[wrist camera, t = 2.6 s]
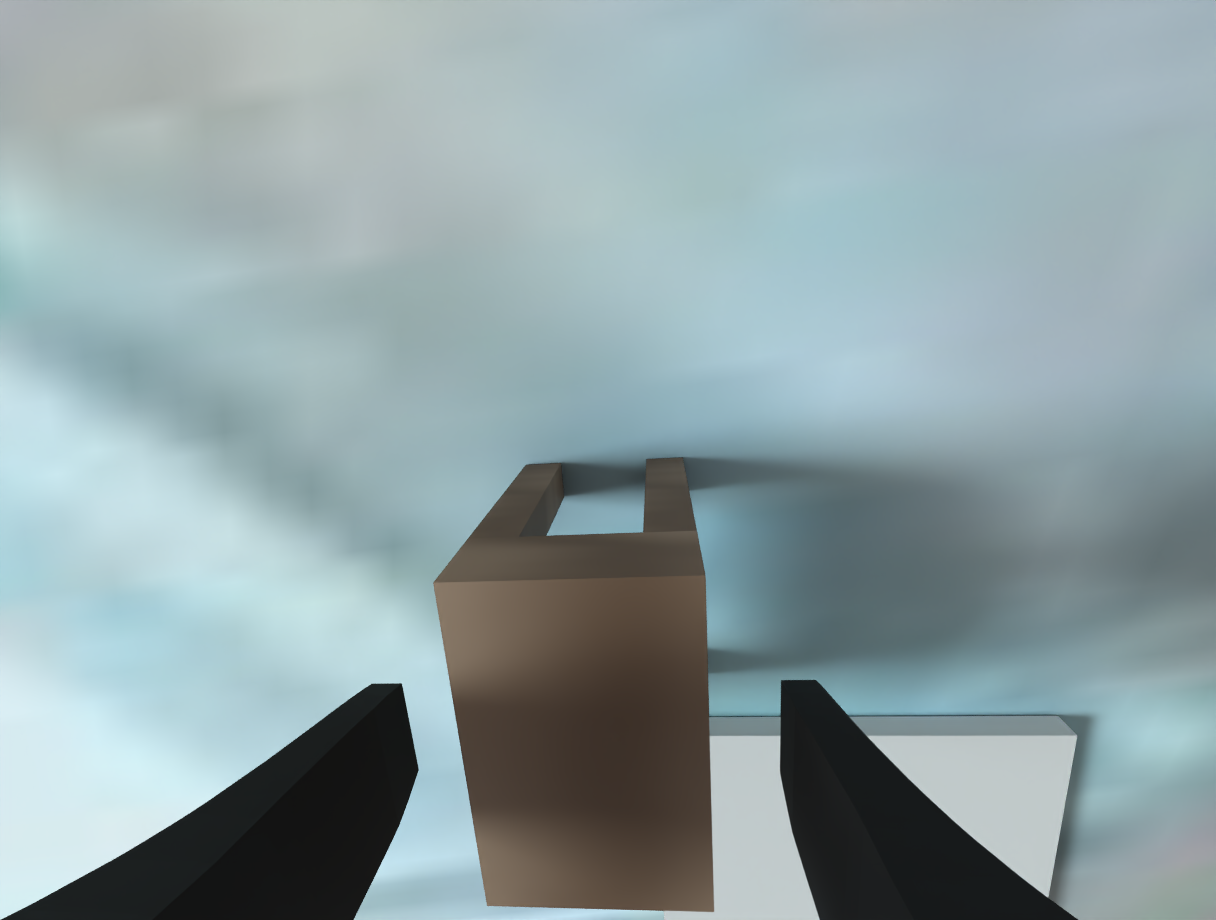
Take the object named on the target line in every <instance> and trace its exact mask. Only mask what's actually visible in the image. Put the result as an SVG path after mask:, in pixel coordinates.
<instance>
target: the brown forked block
mask: <svg viewBox="0 0 1216 920" xmlns="http://www.w3.org/2000/svg"><path fill="white" fill-rule="evenodd" d="M563 498H564V489H563V479H562V468H561V463H552V464H531V465H526V466H525V467H524V468H523V469H522V471H521V472H520V473H519V474H518V476H517V477H516V478H515V480H514V481H513V482H512V483H511V485H510V486H509V487H508V488H507V490H506V491H505V492H504V494H503V495H502V496H501V497H500V499H499V500H498V501H497V502H496V504H495V505H494V506H493V508H492V509H491V510H490V511H489V513H488V514H487V515H486V516H485V518H484V519H483V520H482V521H481V523H480V524H479V525H478V527H477V528H476V529H475V530H474V532H473V533H472V534H471V535H470V537H469V538H468V539H467V541H466V542H465V543H464V544H463V546H462V547H461V548H460V549H459V551H458V552H457V553H456V555H455V556H454V557H453V558H452V560H451V561H450V562H449V563H448V565H447V566H446V567H445V569H444V570H443V571H442V572H441V574H440V575H439V576H438V577H437V579H436V580H435V581H434V583H433V584H434V590H435V596H436V602H437V608H438V614H439V620H440V626H441V632H442V638H443V644H444V650H445V656H446V662H447V668H448V674H449V680H450V686H451V692H452V698H453V704H454V710H455V716H456V722H457V728H458V734H459V740H460V746H461V752H462V758H463V764H464V770H465V776H466V782H467V788H468V794H469V800H470V806H471V812H472V818H473V824H474V830H475V836H476V842H477V848H478V854H479V860H480V866H481V872H482V878H483V884H484V890H485V896H486V902H487V906H511V907H548V908H584V909H620V910H656V911H692V912H714V885H713V846H712V808H711V770H710V731H709V693H708V655H707V617H706V578H705V571H704V565H703V560H702V555H701V550H700V545H699V539H698V534H697V529H696V524H695V519H694V514H693V508H692V503H691V498H690V493H689V488H688V482H687V477H686V472H685V467H684V462H683V457H682V458H660V459H646V480H645V504H644V527H643V533H614V534H585V535H556V536H546V535H547V533H548V531H549V529H550V527H551V524H552V522H553V520H554V518H555V516H556V513H557V511H558V509H559V507H560V505H561V503H562V500H563Z"/></svg>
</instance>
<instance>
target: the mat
mask: <svg viewBox="0 0 1216 920" xmlns="http://www.w3.org/2000/svg"><path fill="white" fill-rule="evenodd" d="M850 718H851V719H852V720H853V721H854V722H855V724H856V725H857V726H858V727H859V728H860V729H861V730H862V731H863V732H864V733H865V734H866V736H867V737H868V738H869V739H870V740H871V741H872V742H873V743H874V744H875V745H876V746H877V747H878V748H879V749H880V750H881V751H882V752H883V753H884V754H885V755H886V756H887V757H888V758H889V759H890V760H891V761H892V762H893V763H894V764H895V765H896V766H897V767H898V768H899V769H900V771H901V772H902V773H903V774H904V775H905V776H906V777H907V778H908V779H909V780H911V781H912V782H913V783H914V784H915V785H916V786H917V787H918V788H919V789H920V790H921V791H922V792H923V793H924V794H925V795H926V796H927V797H928V798H929V799H930V800H931V801H933V802H934V803H935V804H936V805H937V806H938V807H939V808H940V809H941V810H942V811H943V812H944V813H946V814H947V815H948V816H949V817H950V818H951V819H952V820H953V821H954V822H955V823H957V824H958V825H959V826H960V827H961V828H962V829H963V830H964V831H966V832H967V833H968V834H969V835H970V836H971V837H973V838H974V839H975V840H976V841H977V842H979V843H980V844H981V845H982V846H983V847H985V848H986V849H987V850H988V851H990V852H991V853H992V854H993V855H994V856H996V857H997V858H998V859H999V860H1001V861H1002V862H1003V863H1004V864H1006V865H1007V866H1008V867H1009V868H1010V869H1012V870H1013V871H1014V872H1015V873H1017V874H1018V875H1019V876H1020V877H1022V878H1023V879H1024V880H1025V881H1027V882H1028V883H1029V884H1031V885H1032V886H1033V887H1035V888H1036V889H1037V890H1038V891H1040V892H1041V893H1042V894H1044V895H1045V896H1046V897H1048V896H1049V891H1050V885H1051V879H1052V874H1053V868H1054V863H1055V857H1056V852H1057V846H1058V841H1059V835H1060V829H1061V824H1062V818H1063V813H1064V807H1065V802H1066V796H1067V790H1068V785H1069V779H1070V774H1071V768H1072V763H1073V757H1074V752H1075V746H1076V740H1077V735H1076V734H1075V733H1074V732H1073V731H1072V730H1071V729H1070V728H1069V727H1068V726H1067V724H1066V723H1065V722H1064V721H1063V720H1062V719H1061V718H1060V717H1059V716H863V717H850ZM780 728H781V717H709V731H710V770H711V808H712V846H713V885H714V912H692V911H664V920H820V919H819V916H818V913H817V910H816V907H815V904H814V900H813V897H812V894H811V891H810V888H809V885H808V881H807V878H806V875H805V872H804V869H803V865H802V862H801V859H800V856H799V853H798V849H797V846H796V843H795V840H794V836H793V833H792V829H791V824H790V819H789V815H788V810H787V805H786V800H785V795H784V790H783V785H782V780H781V775H780Z"/></svg>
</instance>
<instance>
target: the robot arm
mask: <svg viewBox="0 0 1216 920" xmlns="http://www.w3.org/2000/svg"><path fill="white" fill-rule="evenodd" d="M418 770H419V769H418V764H417V759H416V754H415V749H414V743H413V738H412V733H411V728H410V723H409V718H408V713H407V708H406V703H405V698H404V692H403V687H402V684H371V685H369V686H368V687H366V688H365V689H363V690H362V691H360V692H359V693H357V694H356V695H355V696H353V697H352V698H350V699H349V700H348V701H346V702H345V703H344V704H342V705H341V706H340V707H338V708H337V709H335V710H334V711H333V712H331V713H330V714H329V715H327V716H326V717H325V718H323V719H322V720H321V721H319V722H318V723H317V724H315V725H314V726H313V727H311V728H310V729H309V730H307V731H306V732H305V733H303V734H302V735H301V736H299V737H298V738H297V739H295V740H294V741H293V742H291V743H290V744H288V745H287V746H286V747H284V748H283V749H282V750H280V751H279V752H278V753H276V754H275V755H274V756H272V757H271V758H270V759H268V760H267V761H265V762H264V763H262V764H261V765H260V766H258V767H257V768H255V769H254V770H252V771H251V772H249V773H248V774H247V775H245V776H244V777H242V778H241V779H239V780H238V781H237V782H235V783H234V784H232V785H231V786H229V787H228V788H226V789H225V790H224V791H222V792H221V793H219V794H218V795H216V796H215V797H213V798H212V799H211V800H209V801H208V802H206V803H205V804H203V805H202V806H200V807H199V808H197V809H196V810H194V811H193V812H191V813H189V814H188V815H186V816H185V817H183V818H182V819H180V820H178V821H177V822H175V823H174V824H172V825H171V826H169V827H167V828H166V829H164V830H162V831H161V832H159V833H157V834H156V835H154V836H152V837H151V838H149V839H147V840H146V841H144V842H143V843H141V844H139V845H138V846H136V847H134V848H133V849H131V850H129V851H128V852H126V853H124V854H122V855H121V856H119V857H117V858H116V859H114V860H112V861H110V862H108V863H106V864H105V865H103V866H101V867H99V868H97V869H95V870H94V871H92V872H90V873H88V874H86V875H84V876H83V877H81V878H79V879H77V880H75V881H73V882H72V883H70V884H68V885H66V886H64V887H62V888H61V889H59V890H57V891H55V892H53V893H51V894H50V895H48V896H46V897H44V898H42V899H40V900H39V901H37V902H35V903H33V904H31V905H29V906H27V907H25V908H23V909H21V910H19V911H17V912H15V913H13V914H11V915H9V916H7V917H5V918H3V919H1V920H354V918H355V916H356V913H357V911H358V909H359V907H360V905H361V903H362V901H363V899H364V897H365V895H366V893H367V891H368V889H369V887H370V885H371V883H372V881H373V879H374V877H375V875H376V873H377V871H378V869H379V867H380V865H381V862H382V860H383V858H384V856H385V854H386V852H387V850H388V848H389V846H390V844H391V842H392V840H393V838H394V835H395V833H396V831H397V829H398V827H399V824H400V822H401V819H402V816H403V814H404V811H405V808H406V805H407V803H408V800H409V797H410V794H411V791H412V788H413V785H414V782H415V779H416V776H417V773H418ZM780 775H781V780H782V785H783V790H784V795H785V800H786V805H787V810H788V815H789V819H790V824H791V829H792V833H793V836H794V840H795V843H796V846H797V849H798V853H799V856H800V859H801V862H802V865H803V869H804V872H805V875H806V878H807V881H808V885H809V888H810V891H811V894H812V897H813V900H814V904H815V907H816V910H817V913H818V916H819V919H820V920H1078V919H1076V918H1075V917H1074V916H1072V915H1071V914H1069V913H1068V912H1067V911H1065V910H1064V909H1063V908H1061V907H1060V906H1058V905H1057V904H1056V903H1054V902H1053V901H1052V900H1050V899H1049V898H1048V897H1046V896H1045V895H1044V894H1042V893H1041V892H1040V891H1038V890H1037V889H1036V888H1035V887H1033V886H1032V885H1031V884H1029V883H1028V882H1027V881H1025V880H1024V879H1023V878H1022V877H1020V876H1019V875H1018V874H1017V873H1015V872H1014V871H1013V870H1012V869H1010V868H1009V867H1008V866H1007V865H1006V864H1004V863H1003V862H1002V861H1001V860H999V859H998V858H997V857H996V856H994V855H993V854H992V853H991V852H990V851H988V850H987V849H986V848H985V847H983V846H982V845H981V844H980V843H979V842H977V841H976V840H975V839H974V838H973V837H971V836H970V835H969V834H968V833H967V832H966V831H964V830H963V829H962V828H961V827H960V826H959V825H958V824H957V823H955V822H954V821H953V820H952V819H951V818H950V817H949V816H948V815H947V814H946V813H944V812H943V811H942V810H941V809H940V808H939V807H938V806H937V805H936V804H935V803H934V802H933V801H931V800H930V799H929V798H928V797H927V796H926V795H925V794H924V793H923V792H922V791H921V790H920V789H919V788H918V787H917V786H916V785H915V784H914V783H913V782H912V781H911V780H909V779H908V778H907V777H906V776H905V775H904V774H903V773H902V772H901V771H900V769H899V768H898V767H897V766H896V765H895V764H894V763H893V762H892V761H891V760H890V759H889V758H888V757H887V756H886V755H885V754H884V753H883V752H882V751H881V750H880V749H879V748H878V747H877V746H876V745H875V744H874V743H873V742H872V741H871V740H870V739H869V738H868V737H867V736H866V734H865V733H864V732H863V731H862V730H861V729H860V728H859V727H858V726H857V725H856V724H855V722H854V721H853V720H852V719H851V718H850V717H849V716H848V715H847V714H846V713H845V711H844V710H843V709H842V708H841V707H840V706H839V705H838V704H837V702H836V701H835V700H834V699H833V698H832V697H831V696H830V695H829V693H828V692H827V691H826V690H825V689H824V688H823V687H822V686H821V685H820V684H819V683H818V682H817V681H816V680H781V728H780Z"/></svg>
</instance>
